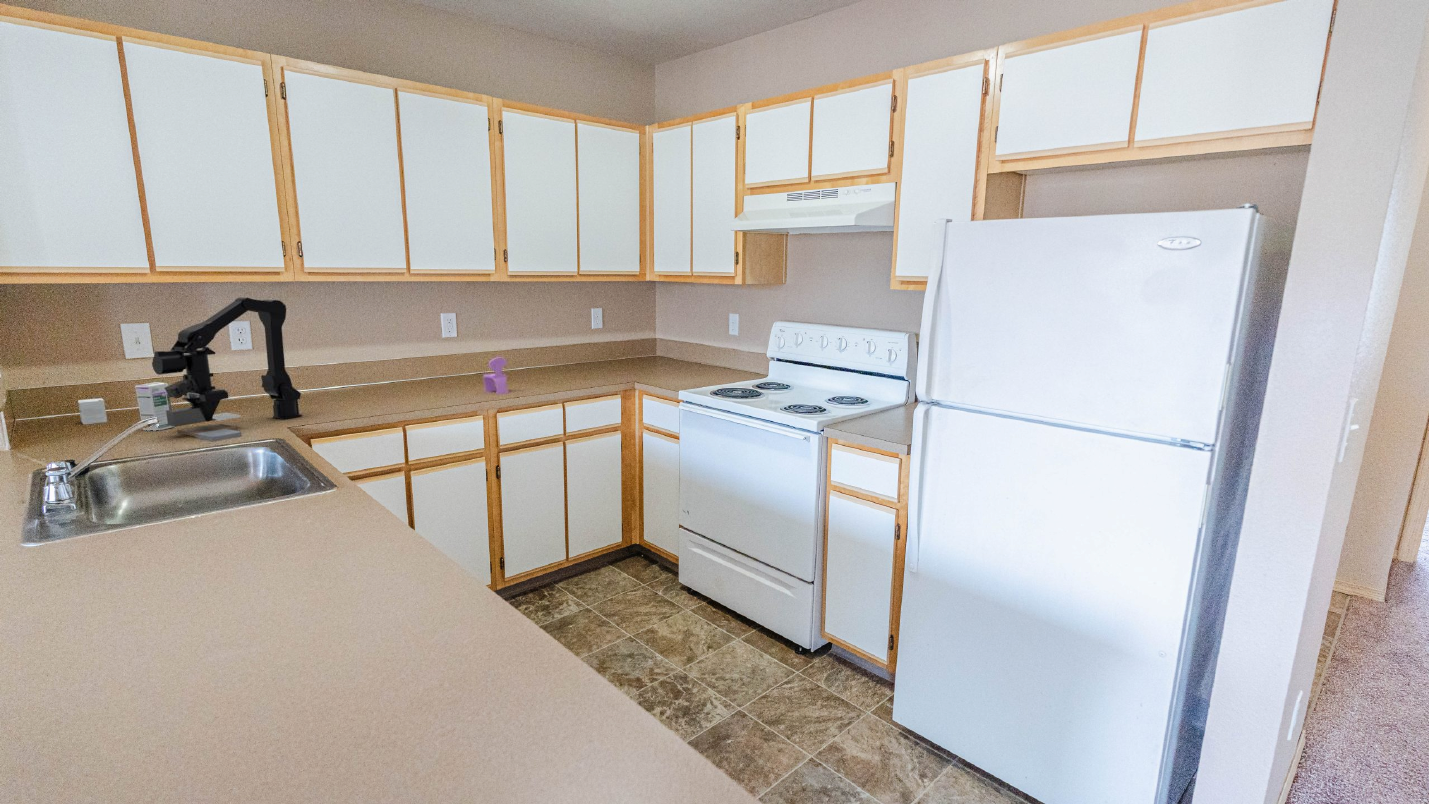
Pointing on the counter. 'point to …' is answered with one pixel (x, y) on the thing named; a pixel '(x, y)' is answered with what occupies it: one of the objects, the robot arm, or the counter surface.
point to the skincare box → (92, 411)
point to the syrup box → (154, 403)
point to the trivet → (205, 429)
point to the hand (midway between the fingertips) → (205, 420)
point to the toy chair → (496, 377)
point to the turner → (193, 416)
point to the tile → (218, 435)
